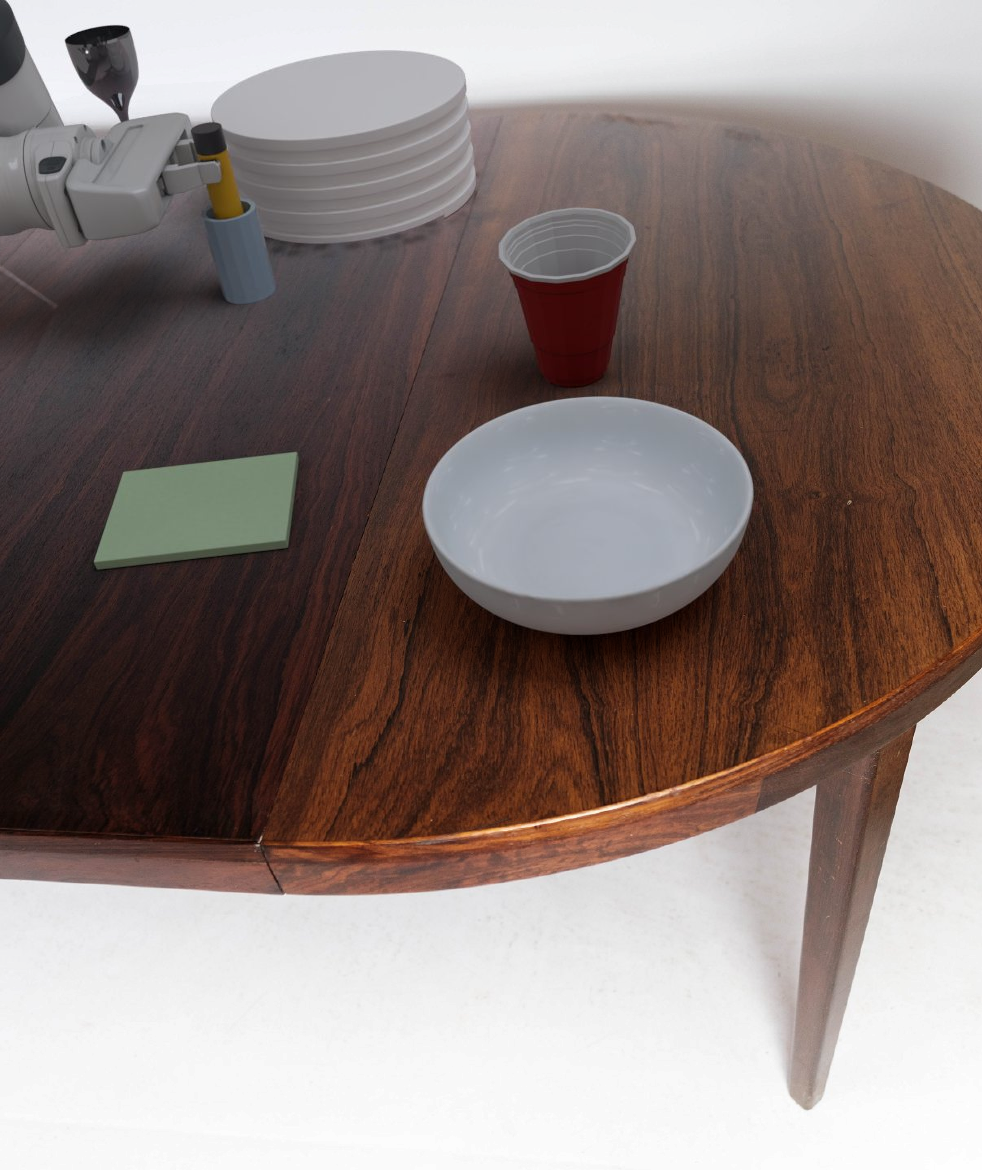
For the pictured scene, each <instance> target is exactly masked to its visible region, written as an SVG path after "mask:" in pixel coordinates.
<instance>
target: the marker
mask: <svg viewBox="0 0 982 1170" xmlns="http://www.w3.org/2000/svg"><path fill="white" fill-rule="evenodd" d="M191 134H192V138H193V142H194V145H195V149H196V152H197V154H198V157H199V161H200V159H205V158H209V159H210V158H215V157H216V158H218V159H219V160H220V161H221V165H222V169H223V172H224V173H223V176H222V178H221V181H220V182H219V183H213V184H205V185H206V189H207V193H208V196H209V200H210V205H212V207H213V211H214V214H215V218H216V220H225V219H230V218H235V217H238V216H240V215H242V214H244V212H243V208H242V204H241V200H240V197H239V193H238V189H237V185H236V181H235V177H234V174H233V170H232V166H231V162H230V158H229V154H228V151H227V145H226V141H225V137H224V133H223V129H222V125H221V124H220V123H216V122H212V121H209V122H204V123H203V122H202V123H200V124H197V125H195V126H192V129H191Z"/></svg>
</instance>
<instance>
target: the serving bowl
mask: <svg viewBox="0 0 982 1170" xmlns="http://www.w3.org/2000/svg"><path fill="white" fill-rule="evenodd" d="M753 504H754V483H753V478H752V475H751V472H750V469H749V466H748V463H747V462H746V460H745V458H744V457H743V455H742V453H741V452H740V451H739V450H738V448H737V447H736V446H735V445H734V444H733V443H732V442H731V440H729V438H727V437H726V436H725V435H724V434H723V433H722V432H720V431H719V430H718V429H716V428H715V427H713V426H712V425H710V424H709V423H707V422H705V421H704V420H702V419H700V418H699V417H697V416H694V415H692V414H689V413H687V412H685V411H683V410H681V409H677V408H674V407H672V406H669V405H665V404H661V403H657V402H655V401H649V400H643V399H638V398H631V397H621V396H620V397H619V396H583V397H570V398H563V399H555V400H549V401H545V402H541V403H537V404H532V405H528V406H524V407H522V408H518V409H516V410H512V411H510V412H507V413H505V414H502V415H500V416H498V417H495V418H494V419H491V420H489V421H487V422H485V423H484V424H481V425H480V426H478V427H476V428H475V429H473V430H472V431H471V432H469V433H467V434H466V435H465V436H463V437H462V438H461V439H459V440H458V441H457V442H456V443H455V444H454V445H452V446H451V448H450V449H449V450H447V451H446V453H445V454H444V455H443V456H442V457H441V458H440V459H439V461H438V462H437V464H436V465H435V467H434V468H433V470H432V471H431V473H430V476H429V477H428V480H427V482H426V485H425V488H424V492H423V496H422V503H421V507H422V520H423V524H424V528H425V532H426V534H427V537H428V539H429V541H430V545H431V547H432V548H433V551H434V553H435V555H436V557H437V559H438V561H439V563H440V564H441V566H442V568H443V569H444V571H445V572H446V574H447V575H448V576H449V577H450V579H451V580H452V581H453V583H454V584H455V585H456V586H457V587H458V588H459V589H460V590H461V591H462V592H463V593H464V594H465V595H466V596H468V598H469V599H471V600H472V601H474V602H475V603H476V604H477V605H479V606H480V607H482V608H483V609H485V610H486V611H489V612H490V613H492V615H495V616H497V617H499V618H501V619H503V620H506V621H508V622H511V623H513V624H515V625H518V626H522V627H524V628H528V629H531V630H534V631H535V630H536V631H541V632H544V633H545V632H546V633H553V634H559V635H571V636H573V635H575V636H577V635H578V636H587V635H588V636H589V635H590V636H591V635H603V634H611V633H618V632H622V631H628V630H632V629H636V628H639V627H643V626H645V625H648V624H651V623H655V622H657V621H659V620H661V619H663V618H666V617H668V616H671V615H672V614H674V613H676V612H677V611H680V610H681V609H683V608H684V607H686V606H688V605H689V604H691V603H692V602H693V601H695V600H696V599H697V598H698V597H700V596H702V594H703V593H705V592H706V591H707V590H708V589H709V588H710V587H711V586H712V585H714V583H715V582H716V581H717V580H718V579H719V578H720V576H721V575H722V574H723V573H724V572H725V570H726V569H727V568H728V566H729V565H730V563H731V562H732V560H733V559H734V557H735V555H736V554H737V551H738V550H739V548H740V545H741V543H742V541H743V538H744V536H745V533H746V530H747V527H748V524H749V521H750V517H751V514H752V510H753Z"/></svg>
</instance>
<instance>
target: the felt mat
mask: <svg viewBox="0 0 982 1170" xmlns="http://www.w3.org/2000/svg"><path fill="white" fill-rule="evenodd" d="M299 462H300V458H299V454H298V452H297V451H292V452H284V453H275V454H267V455H256V456H249V457H240V458H232V459H231V458H230V459H223V460H216V461H206V462H198V463H188V464H180V465H179V464H178V465H172V466H171V465H170V466H163V467H155V468H154V467H152V468H145V469H136V470H127V471H123V472H122V475H121V478H120V481H119V484H118V487H117V490H116V493H115V496H114V499H113V501H112V502H113V503H112V506H111V509H110V511H109V514H108V517H107V521H106V523H105V526H104V528H103V529H104V530H103V533H102V536H101V538H100V542H99V544H98V547H97V551H96V554H95V557H94V560H93V564H94V566H95V568H96V570H97V571H98V570H99V571H100V570H106V569H116V568H124V567H133V566H141V565H142V566H143V565H151V564H160V563H167V562H177V561H186V560H193V559H194V560H195V559H203V558H212V557H221V556H229V555H230V556H231V555H239V554H247V553H256V552H264V551H265V552H266V551H273V550H274V551H275V550H281V549H282V550H283V549H288V548H289V543H290V535H291V527H292V520H293V519H292V518H293V512H294V511H293V509H294V504H295V494H296V487H297V479H298V471H299Z"/></svg>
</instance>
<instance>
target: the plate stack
mask: <svg viewBox="0 0 982 1170" xmlns="http://www.w3.org/2000/svg"><path fill="white" fill-rule="evenodd" d="M466 79H467V78H466V73H465V71H464V70H463V68H462V67H461V66H460V65H459V64H457V63H456V62H454V61H452V60H451V59H448V58H445V57H442V56H439V55H436V54H431V53H426V52H420V51H413V50H396V49H395V50H394V49H383V50H382V49H381V50H379V49H378V50H377V49H376V50H361V51H359V50H358V51H350V52H342V53H341V52H340V53H334V54H327V55H322V56H321V55H320V56H316V57H312V58H306V59H302V60H297V61H294V62H290V63H286V64H283V65H279V66H277V67H273V68H271V69H268V70H264V71H262V72H259V73H257V74H254V75H252V76H250V77H248V78H246V79H244V80H241V81H239V82H237V83H236V84H234V85H232V86H231V87H229V88H228V89H226V90H225V91H224V92H222V93H221V94H220V95H219V96H218V97H217V98H216V99H215V101H214V102H213V104H212V106H211V108H210V118H211V122H216V123H220V124H221V125H222V129H223V133H224V137H225V141H226V143H227V144H228V148H229V152H230V162H231V166H232V170H233V174H234V177H235V181H236V185H237V189H238V193H239V197H240V199H247V200H251V201H253V202H254V203H255V204H256V207H257V211H258V215H259V219H260V223H261V227H262V231H263V235H264V238H269V239H272V240H277V241H282V242H287V243H297V244H339V243H340V244H341V243H351V242H358V241H364V240H365V241H366V240H370V239H377V238H381V237H385V236H390V235H393V234H397V233H402V232H405V231H407V230H411V229H414V228H417V227H419V226H421V225H424V224H426V223H429V222H431V221H434V220H435V219H438V218H440V217H442V216H443V217H444V219H446V218H447V217H449V216H451V215H453V214H454V213H455V212H457V211H458V210H459V209H461V208H462V207H463V206H464V205H465V204H466V203H467V202H468V201H469V200H470V198H471V197H472V195H473V194H474V191H475V190H476V186H477V175H476V167H475V165H474V163H475V154H474V146H473V143H472V135H473V134H472V127H471V126H472V125H471V122H470V119H469V117H470V106H469V99H468V96H467V89H468V87H467V80H466Z"/></svg>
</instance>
